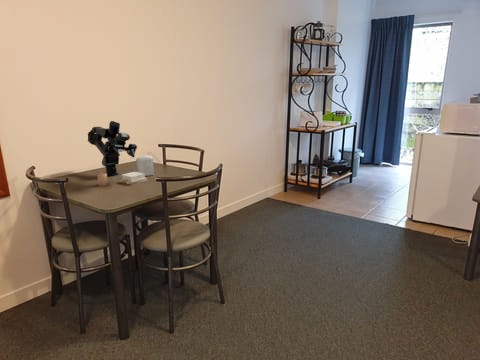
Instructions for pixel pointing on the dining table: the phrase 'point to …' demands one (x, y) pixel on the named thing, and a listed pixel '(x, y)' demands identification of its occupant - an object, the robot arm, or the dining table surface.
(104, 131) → the robot arm
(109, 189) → the dining table surface
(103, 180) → the pink small block
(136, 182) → the tower base
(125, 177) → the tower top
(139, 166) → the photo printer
